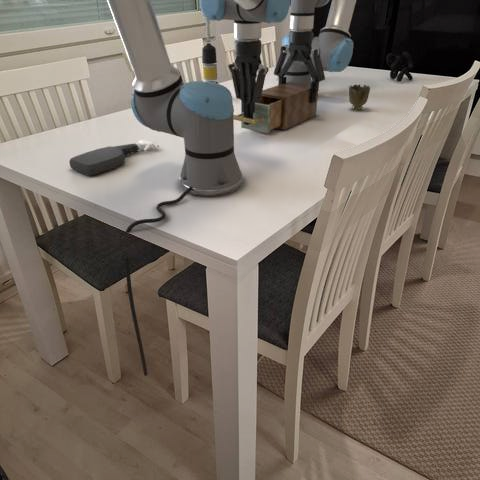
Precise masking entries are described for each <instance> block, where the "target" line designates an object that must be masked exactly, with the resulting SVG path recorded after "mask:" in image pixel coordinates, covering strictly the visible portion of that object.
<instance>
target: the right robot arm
mask: <svg viewBox="0 0 480 480" xmlns="http://www.w3.org/2000/svg"><path fill="white" fill-rule="evenodd" d="M330 1H331V4H330V8H329V10H328V11H329V12H328V15H327V19H326V24H325V26H323V28H321V29H320V31H319V34H318V36H314V32H313V31H312V30H313V29H314V23H315V22H314V21H315V8H321V7H323V6H325V5H327V4H328V3H329V2H330ZM356 4H357V0H290V13H289V29H290V31H289V32H288V33H289V34H286V35H284V36H283V38H282V43H281V46H280V51H279V56H278V59H277V61H276V65H275V68H274V70H273V75H274V76H277V78H278V83H277V86H278V85H281V84H284V83H287V82H290V81H291V82H297V83H304V84H311V91H310V103H313V102H315V101H316V92H318V93H319V90H320V82H324V81H325V80H326V75H325V72H328V73H341V72H343V71H345V70H346V69H347V67H348V66H349V64H350V62H351V60H352V57H353V53H354V51H353V50H354V41H353V40H352V39H351V37H352V35H351V33H350V32H349V30H350V27H351V21H352V18H353V16H354V15H353V14H354V11H355V6H356Z"/></svg>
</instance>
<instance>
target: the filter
mask: <svg viewBox="0 0 480 480" xmlns="http://www.w3.org/2000/svg"><path fill="white" fill-rule="evenodd" d="M205 27H206V29H205V30H206V31H205V33H206V39H207V40H206V42H207V43H206V45H204V46H202V49H201V50H202V51H201V52H202V54H201V55H202V57H201V58H202V61H201V63H202V71H203V72H202V73H203V74H202V75H203V81H206V82H214V83H217V84H219V82H218V81H216V80H218V64H216V63H218V61H217V48H216V47H215V46H214V45H212V43H210V42H211V40H210V39H211V31H210V29H211V28H210V20H208V19H207V18H206V17H205Z"/></svg>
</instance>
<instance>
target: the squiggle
mask: <svg viewBox="0 0 480 480" xmlns="http://www.w3.org/2000/svg"><path fill="white" fill-rule="evenodd" d="M401 57H402V59H401ZM391 59H392V60H391ZM393 60H394V61H393ZM385 61H386V64H387V67H390V68H391V70H390V72H389V78H390V79H391V80H395V79H396V81H397V82H399V83H400V82H402V81H403V79H404V76H406V78H407V80H408V81H412V80H413V79H414V77H413V75H412V74H411V73H410V72H409V71H410V70H412V69H413V68H414V64H413V61H412V57H411V54H410V53H409V52H408V51H403V53H402V54H401V55H396V54H394V53H392V52H390V53H387V55H386V57H385ZM406 62H407V65H408V66H407V67H405V66H404V65H405V64H406ZM400 70H401V71H400Z"/></svg>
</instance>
